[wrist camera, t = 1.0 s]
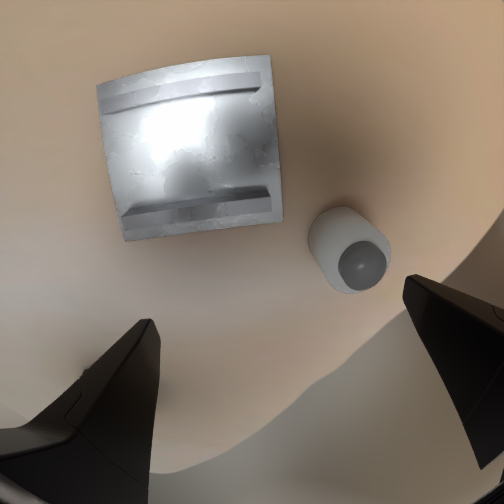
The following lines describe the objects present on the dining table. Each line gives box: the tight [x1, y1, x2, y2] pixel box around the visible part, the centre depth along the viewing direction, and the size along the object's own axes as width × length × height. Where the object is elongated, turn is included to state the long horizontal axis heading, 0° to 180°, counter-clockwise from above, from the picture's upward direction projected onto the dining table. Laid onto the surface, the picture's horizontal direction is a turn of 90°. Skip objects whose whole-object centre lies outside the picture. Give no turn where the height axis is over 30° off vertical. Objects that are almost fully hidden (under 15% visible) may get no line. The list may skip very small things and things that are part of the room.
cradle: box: [96, 55, 283, 242], centre depth 18 cm, size 12×12×2 cm
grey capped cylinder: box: [308, 207, 391, 294], centre depth 20 cm, size 5×5×6 cm
